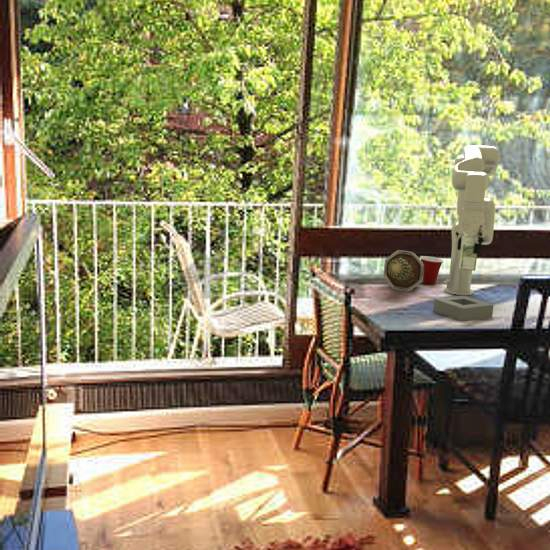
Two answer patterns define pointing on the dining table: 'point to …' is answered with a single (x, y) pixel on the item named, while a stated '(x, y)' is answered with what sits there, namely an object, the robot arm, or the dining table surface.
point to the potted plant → (403, 270)
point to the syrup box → (467, 253)
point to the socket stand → (463, 308)
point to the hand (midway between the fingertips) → (468, 251)
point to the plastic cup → (431, 269)
